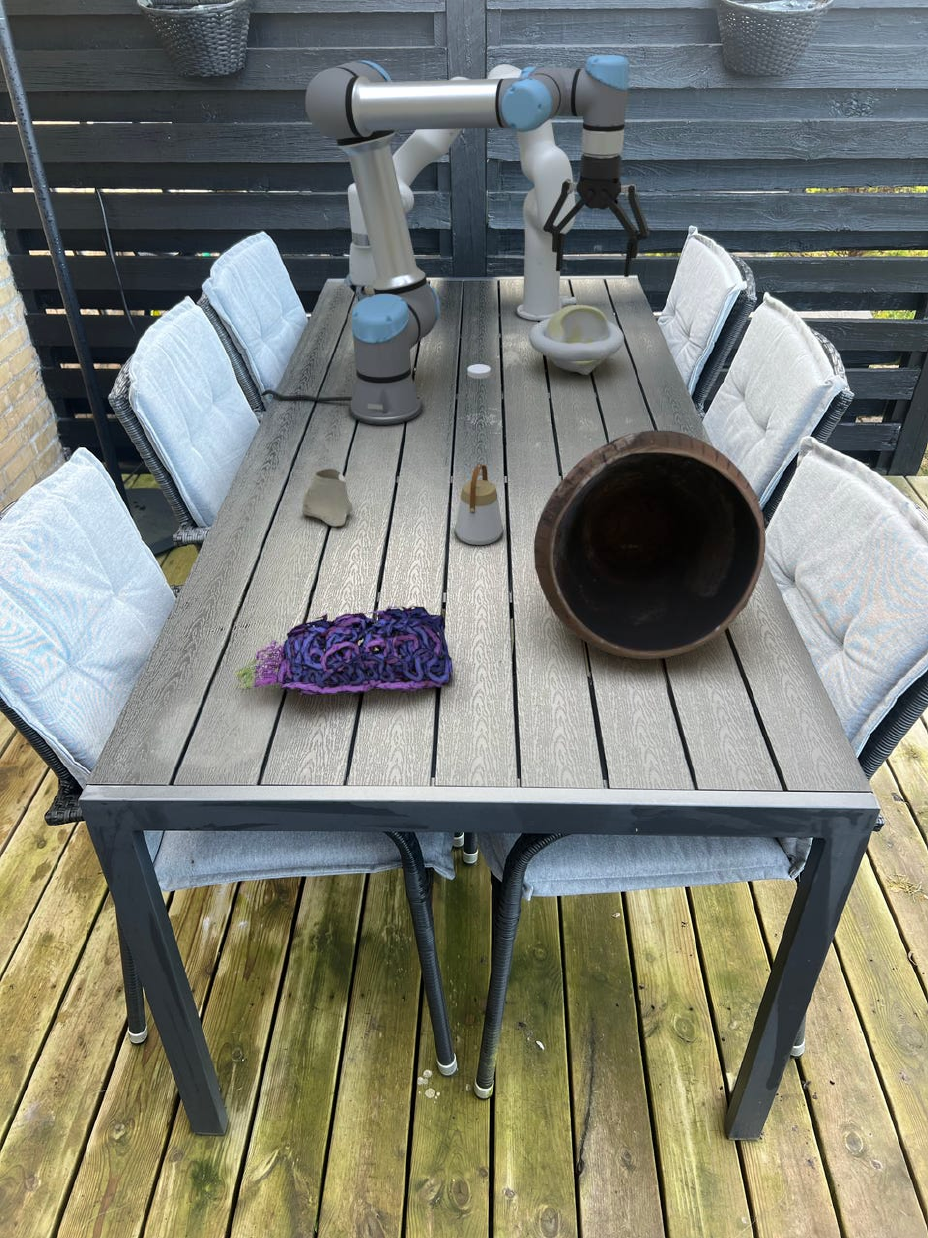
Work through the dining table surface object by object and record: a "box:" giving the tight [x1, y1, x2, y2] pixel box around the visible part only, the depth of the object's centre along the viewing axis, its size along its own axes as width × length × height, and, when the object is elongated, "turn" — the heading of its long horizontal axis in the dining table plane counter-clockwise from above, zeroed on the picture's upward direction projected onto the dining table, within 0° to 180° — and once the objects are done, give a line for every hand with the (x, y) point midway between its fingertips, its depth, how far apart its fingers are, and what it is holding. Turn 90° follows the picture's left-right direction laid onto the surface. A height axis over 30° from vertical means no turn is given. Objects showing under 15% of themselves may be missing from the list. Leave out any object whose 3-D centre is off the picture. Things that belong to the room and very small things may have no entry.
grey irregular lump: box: [301, 468, 353, 528], centre depth 164 cm, size 9×8×10 cm
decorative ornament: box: [235, 605, 454, 697], centre depth 129 cm, size 13×11×30 cm
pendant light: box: [455, 363, 503, 546], centre depth 153 cm, size 8×8×30 cm
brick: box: [359, 286, 375, 301], centre depth 238 cm, size 7×5×9 cm
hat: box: [528, 304, 625, 376], centre depth 215 cm, size 25×22×15 cm
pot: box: [533, 429, 767, 660], centre depth 139 cm, size 32×32×30 cm
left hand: (592, 272), depth 183 cm, fingers open, 13 cm apart
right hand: (374, 311), depth 238 cm, fingers closed on brick, 4 cm apart
